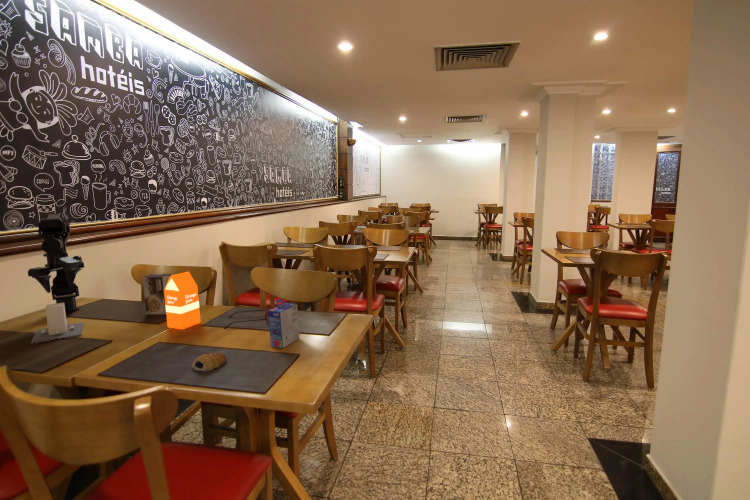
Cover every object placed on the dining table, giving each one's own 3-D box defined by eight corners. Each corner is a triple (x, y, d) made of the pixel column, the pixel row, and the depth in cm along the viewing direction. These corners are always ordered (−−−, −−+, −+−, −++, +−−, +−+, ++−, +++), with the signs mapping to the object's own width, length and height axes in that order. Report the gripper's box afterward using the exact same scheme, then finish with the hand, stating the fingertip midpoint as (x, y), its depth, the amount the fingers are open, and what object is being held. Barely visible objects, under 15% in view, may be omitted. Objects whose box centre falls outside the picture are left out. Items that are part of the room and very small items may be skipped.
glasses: (269, 326, 155) (268, 313, 154) (223, 329, 152) (222, 316, 151) (270, 315, 169) (269, 303, 168) (228, 318, 165) (227, 306, 164)
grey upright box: (175, 310, 177) (171, 273, 174) (166, 314, 170) (162, 276, 168) (155, 309, 178) (151, 273, 175) (145, 314, 171) (141, 276, 169)
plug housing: (50, 331, 151) (46, 304, 149) (67, 328, 153) (64, 302, 152) (49, 335, 146) (45, 308, 145) (66, 332, 149) (62, 305, 148)
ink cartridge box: (286, 336, 143) (284, 295, 141) (300, 338, 141) (298, 297, 139) (269, 346, 134) (266, 303, 132) (283, 348, 132) (281, 304, 130)
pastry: (215, 357, 126) (215, 345, 125) (232, 361, 123) (231, 349, 123) (190, 370, 118) (189, 357, 117) (207, 374, 115) (206, 361, 114)
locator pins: (42, 334, 148) (41, 330, 147) (74, 328, 153) (74, 325, 152) (40, 338, 143) (39, 334, 143) (73, 332, 148) (73, 328, 148)
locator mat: (37, 331, 153) (36, 329, 152) (83, 324, 160) (82, 322, 160) (30, 344, 139) (30, 342, 139) (81, 335, 147) (81, 334, 147)
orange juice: (167, 327, 155) (162, 275, 152) (185, 320, 163) (181, 270, 160) (182, 329, 152) (178, 276, 149) (201, 322, 160) (196, 271, 157)
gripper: (48, 254, 149) (54, 296, 151) (93, 247, 167) (97, 284, 169) (23, 254, 151) (29, 295, 153) (70, 247, 169) (75, 284, 171)
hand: (60, 289), depth 162 cm, fingers open, 9 cm apart
